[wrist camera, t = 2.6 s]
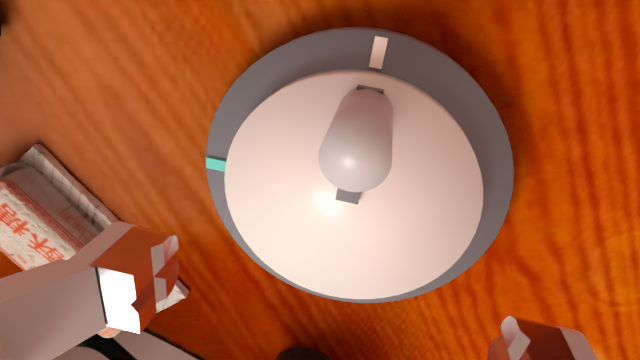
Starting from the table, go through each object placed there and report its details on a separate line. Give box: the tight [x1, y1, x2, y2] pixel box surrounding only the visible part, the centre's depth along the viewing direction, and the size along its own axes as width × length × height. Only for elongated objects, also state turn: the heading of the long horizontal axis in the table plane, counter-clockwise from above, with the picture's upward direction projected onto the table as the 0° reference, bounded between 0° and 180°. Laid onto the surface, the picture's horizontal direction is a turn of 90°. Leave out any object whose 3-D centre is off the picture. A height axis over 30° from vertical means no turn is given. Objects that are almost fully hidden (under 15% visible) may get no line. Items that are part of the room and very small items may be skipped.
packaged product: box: [0, 144, 189, 338], centre depth 33 cm, size 18×5×10 cm
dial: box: [224, 69, 483, 299], centre depth 21 cm, size 16×16×8 cm
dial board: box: [206, 26, 514, 303], centre depth 26 cm, size 20×20×2 cm
